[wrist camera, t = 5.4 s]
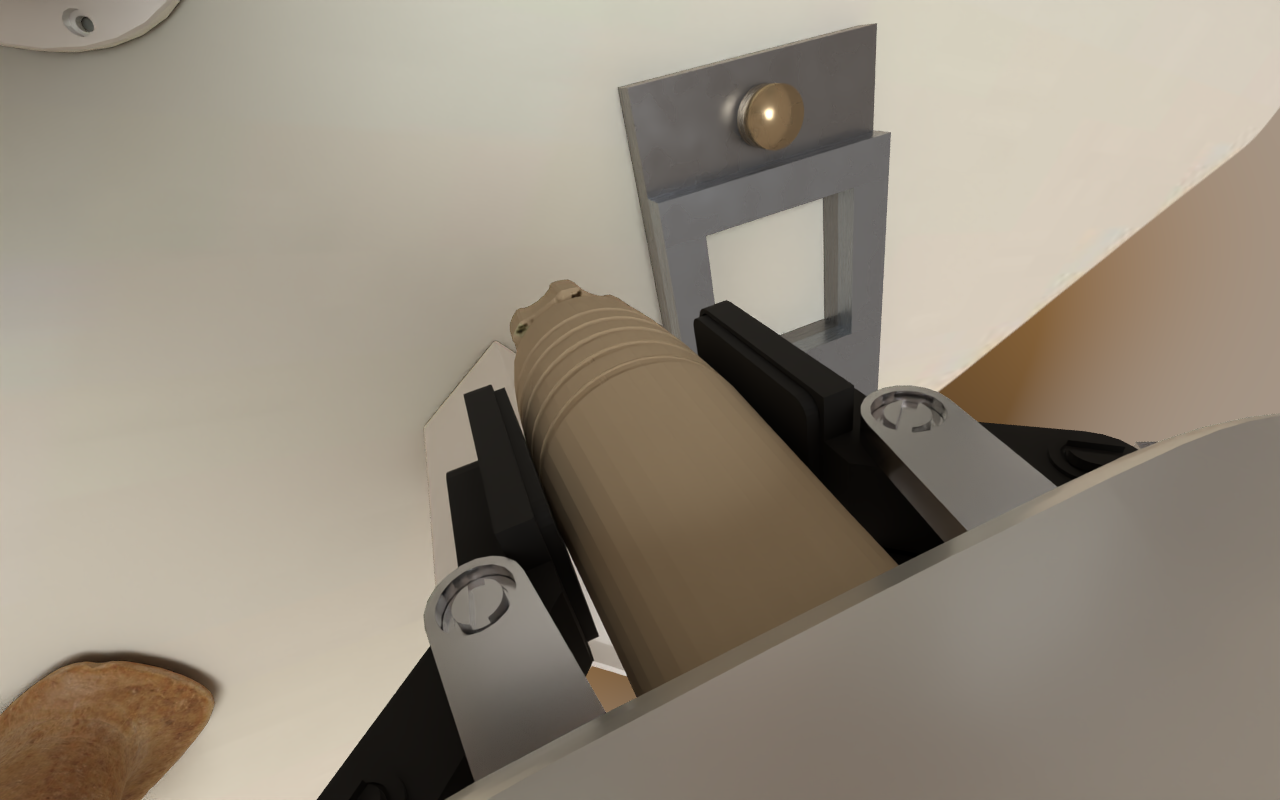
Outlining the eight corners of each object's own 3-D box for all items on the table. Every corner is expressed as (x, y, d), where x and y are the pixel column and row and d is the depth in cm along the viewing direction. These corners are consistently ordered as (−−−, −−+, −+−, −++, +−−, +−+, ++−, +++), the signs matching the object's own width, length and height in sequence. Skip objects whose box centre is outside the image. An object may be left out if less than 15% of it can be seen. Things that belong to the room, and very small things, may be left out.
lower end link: (618, 87, 29) (638, 88, 27) (858, 25, 32) (897, 20, 30) (678, 404, 40) (696, 426, 38) (852, 337, 43) (880, 353, 41)
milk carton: (494, 338, 33) (577, 561, 18) (581, 396, 37) (710, 619, 22) (422, 425, 34) (442, 709, 19) (514, 473, 38) (593, 739, 23)
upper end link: (638, 194, 32) (669, 209, 28) (856, 128, 35) (910, 134, 31) (689, 461, 43) (716, 497, 40) (851, 395, 46) (891, 422, 43)
